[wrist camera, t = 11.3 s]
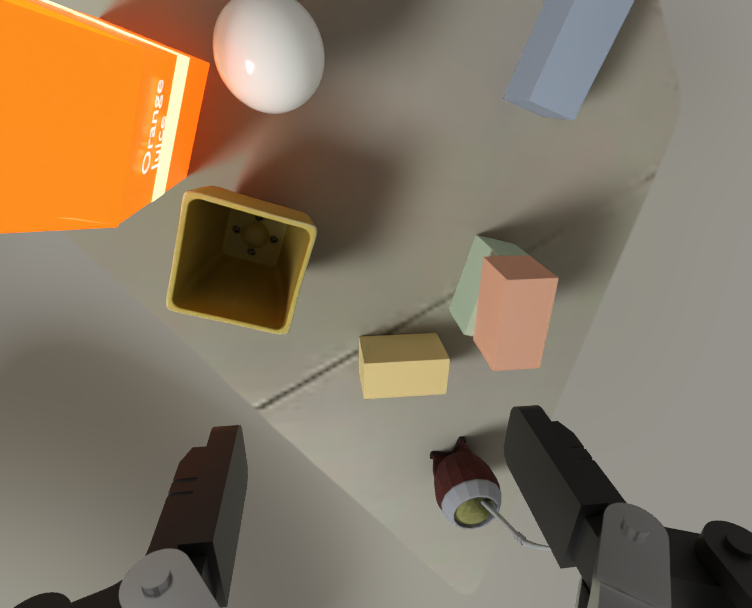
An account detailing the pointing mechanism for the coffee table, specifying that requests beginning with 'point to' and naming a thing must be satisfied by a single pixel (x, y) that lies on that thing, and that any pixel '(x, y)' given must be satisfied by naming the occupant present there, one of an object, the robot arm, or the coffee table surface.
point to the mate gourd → (470, 491)
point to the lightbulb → (269, 53)
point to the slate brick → (565, 55)
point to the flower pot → (239, 260)
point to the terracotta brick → (514, 311)
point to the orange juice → (88, 118)
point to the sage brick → (476, 279)
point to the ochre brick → (402, 365)
